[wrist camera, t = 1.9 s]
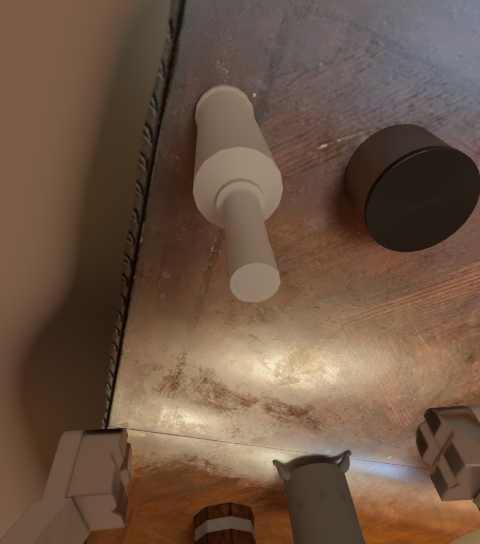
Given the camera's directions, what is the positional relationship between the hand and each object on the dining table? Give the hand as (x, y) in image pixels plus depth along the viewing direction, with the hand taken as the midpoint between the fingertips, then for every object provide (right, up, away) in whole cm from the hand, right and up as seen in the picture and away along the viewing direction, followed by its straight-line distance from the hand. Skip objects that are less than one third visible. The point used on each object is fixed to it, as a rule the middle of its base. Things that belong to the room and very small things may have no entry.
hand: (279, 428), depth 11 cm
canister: (+15, +14, +30) cm, 36 cm away
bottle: (-3, +19, +25) cm, 32 cm away
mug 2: (+14, -34, +66) cm, 75 cm away
